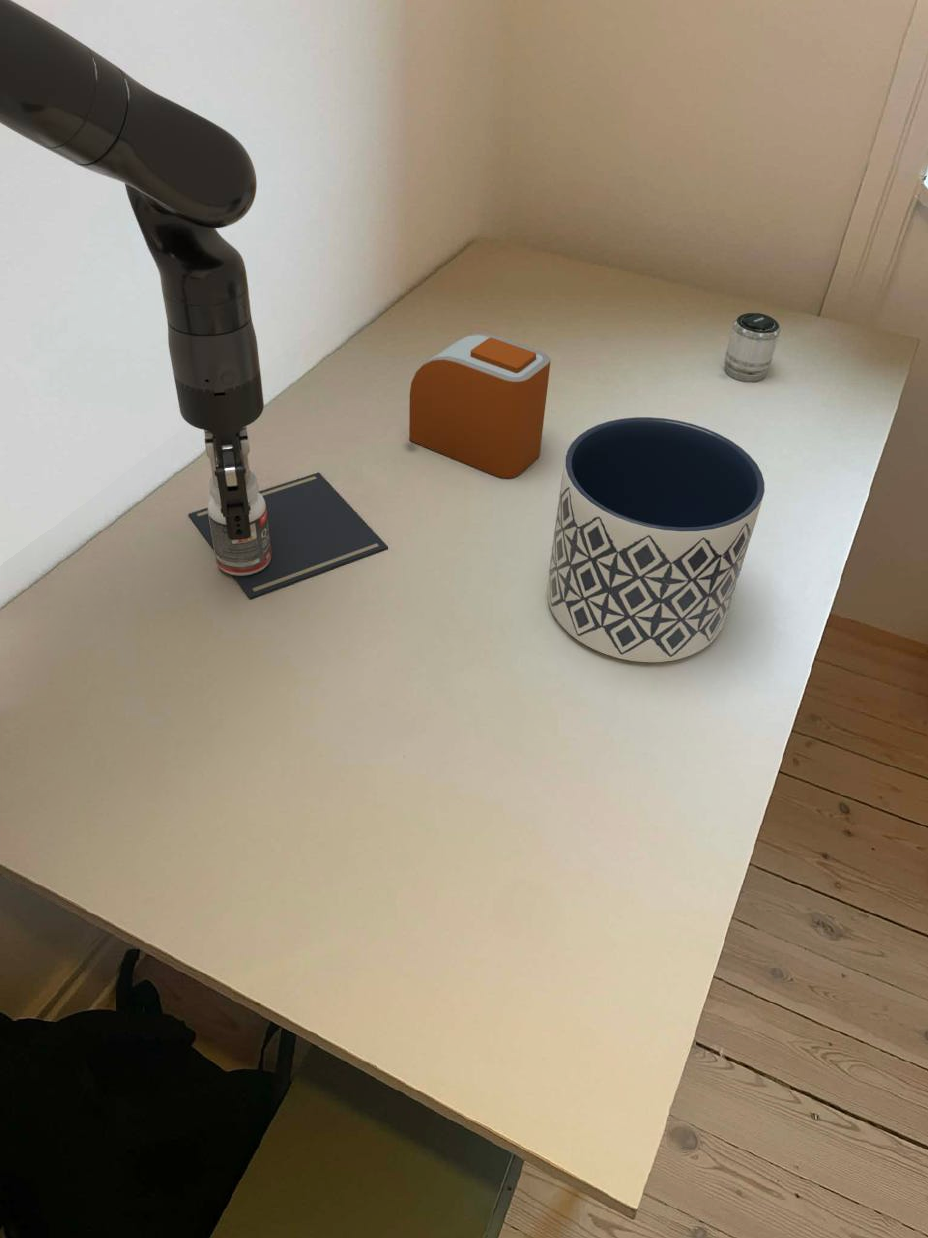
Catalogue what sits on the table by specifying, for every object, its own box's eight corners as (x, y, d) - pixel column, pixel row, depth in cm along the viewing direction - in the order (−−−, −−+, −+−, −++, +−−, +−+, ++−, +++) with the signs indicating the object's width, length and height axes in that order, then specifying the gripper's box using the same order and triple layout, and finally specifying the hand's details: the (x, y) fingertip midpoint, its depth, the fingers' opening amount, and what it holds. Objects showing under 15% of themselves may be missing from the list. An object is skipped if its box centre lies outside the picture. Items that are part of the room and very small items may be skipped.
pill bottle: (279, 569, 100) (270, 491, 93) (224, 583, 98) (211, 504, 91) (262, 537, 104) (253, 459, 97) (210, 550, 102) (196, 471, 95)
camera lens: (712, 369, 136) (725, 316, 131) (740, 356, 139) (753, 304, 134) (749, 388, 133) (763, 334, 127) (776, 374, 136) (791, 321, 130)
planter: (743, 581, 102) (785, 449, 91) (694, 692, 90) (736, 556, 79) (583, 528, 108) (604, 398, 97) (517, 627, 96) (533, 490, 84)
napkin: (249, 599, 97) (249, 597, 97) (188, 515, 106) (187, 513, 106) (388, 548, 104) (388, 546, 104) (319, 474, 113) (318, 471, 113)
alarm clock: (547, 451, 119) (559, 349, 110) (511, 483, 114) (520, 379, 104) (447, 411, 125) (451, 312, 115) (408, 440, 119) (409, 338, 110)
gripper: (170, 330, 90) (196, 480, 101) (174, 410, 80) (202, 567, 91) (252, 325, 91) (269, 474, 103) (266, 403, 81) (282, 558, 93)
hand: (237, 517), depth 97 cm, fingers closed on pill bottle, 5 cm apart
